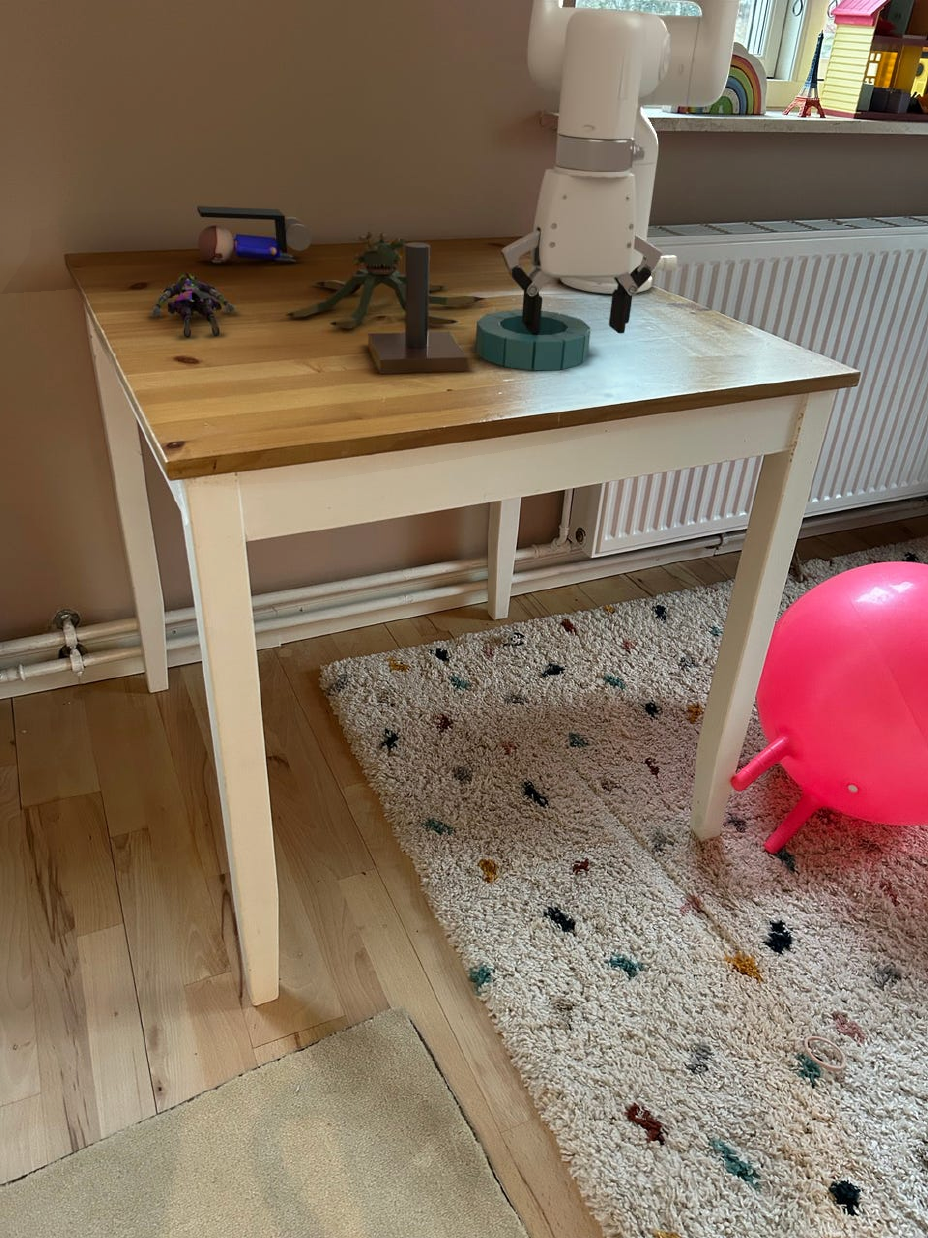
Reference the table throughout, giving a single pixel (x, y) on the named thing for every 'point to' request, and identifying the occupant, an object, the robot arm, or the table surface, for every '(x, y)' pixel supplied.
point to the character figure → (192, 302)
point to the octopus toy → (378, 270)
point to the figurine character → (221, 244)
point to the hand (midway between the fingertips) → (574, 330)
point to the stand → (416, 328)
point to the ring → (532, 341)
